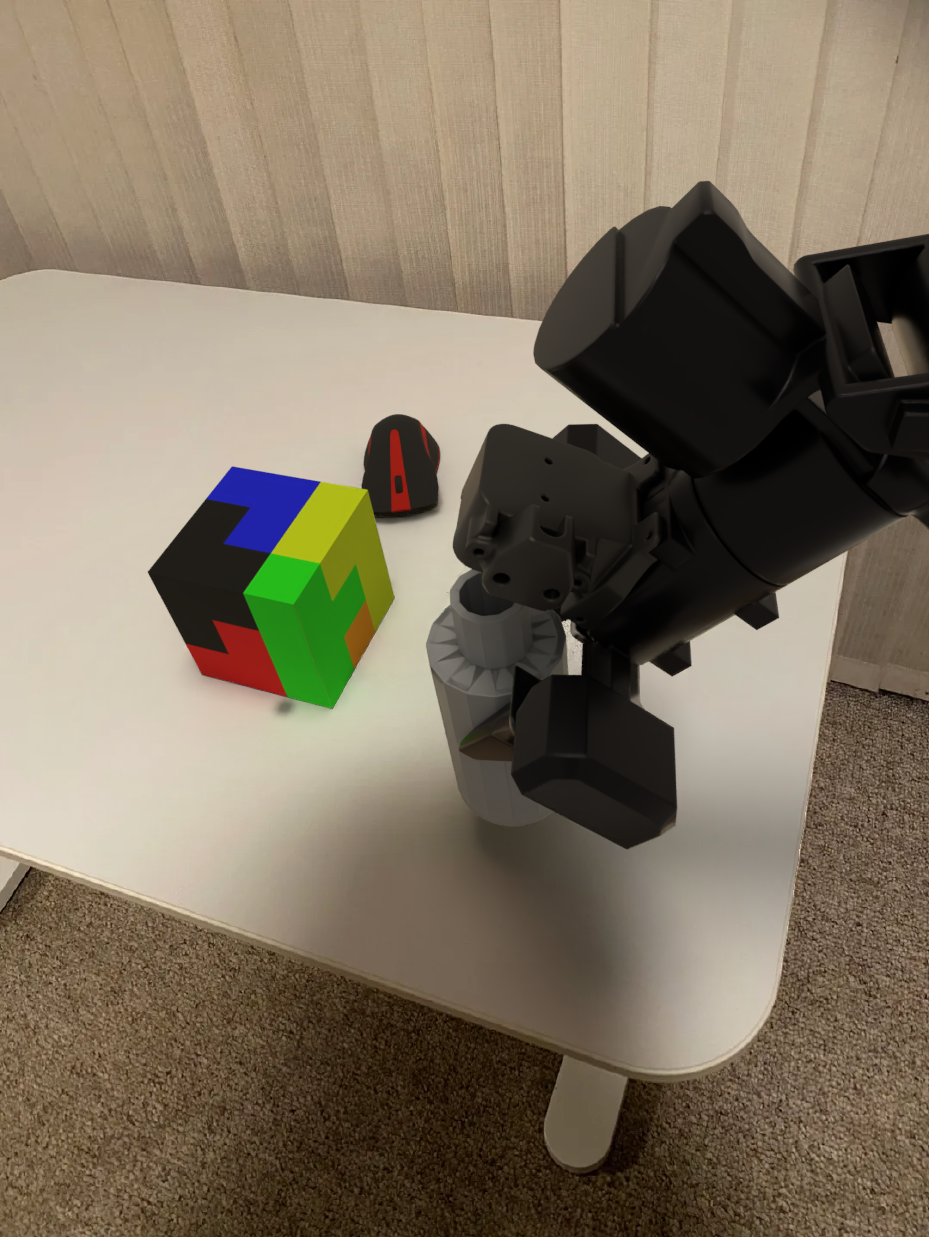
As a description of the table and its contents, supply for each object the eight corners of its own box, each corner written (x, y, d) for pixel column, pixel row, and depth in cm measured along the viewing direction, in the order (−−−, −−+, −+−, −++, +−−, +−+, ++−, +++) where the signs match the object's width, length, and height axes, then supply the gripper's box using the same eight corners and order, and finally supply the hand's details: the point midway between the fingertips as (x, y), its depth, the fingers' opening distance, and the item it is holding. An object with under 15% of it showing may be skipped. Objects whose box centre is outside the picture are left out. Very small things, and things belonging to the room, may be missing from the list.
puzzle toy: (272, 571, 68) (231, 466, 61) (394, 597, 65) (367, 489, 58) (201, 674, 62) (147, 572, 55) (332, 708, 59) (293, 604, 52)
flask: (596, 785, 47) (592, 601, 37) (498, 848, 45) (466, 674, 35) (528, 709, 51) (508, 521, 40) (436, 764, 49) (389, 584, 39)
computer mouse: (363, 528, 70) (352, 488, 67) (364, 440, 78) (354, 401, 75) (444, 518, 70) (438, 477, 67) (438, 431, 77) (432, 390, 74)
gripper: (588, 246, 36) (368, 471, 46) (569, 603, 24) (275, 802, 34) (773, 408, 40) (536, 580, 50) (835, 776, 28) (507, 907, 38)
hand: (474, 693), depth 43 cm, fingers closed on flask, 6 cm apart
